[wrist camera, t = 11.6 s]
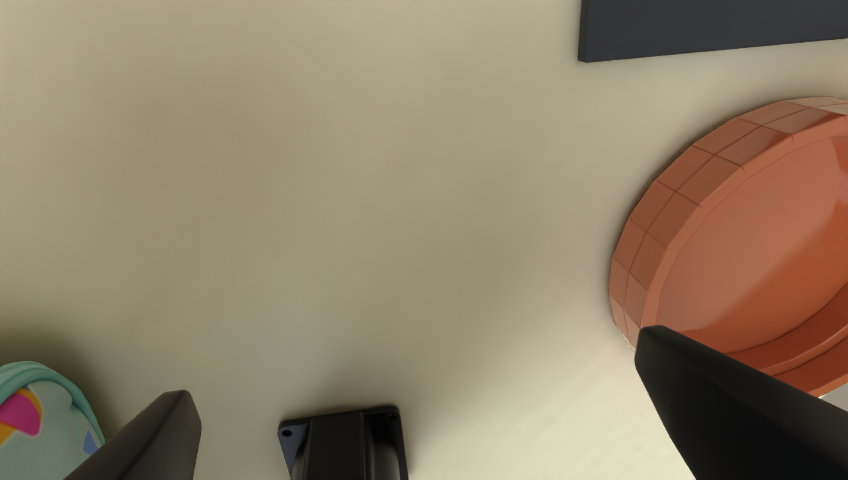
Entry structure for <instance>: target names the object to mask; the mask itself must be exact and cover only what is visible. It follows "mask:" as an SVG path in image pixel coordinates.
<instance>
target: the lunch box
mask: <svg viewBox="0 0 848 480" xmlns="http://www.w3.org/2000/svg"><path fill="white" fill-rule="evenodd" d="M105 443H106V441H105V438H104V436H103V434H102V431H101V429H100V427H99V424H98V422H97V419H96V417H95V415H94V413H93V411H92V409H91V407H90V404H89V402H88V400H87V399H86V397H85V396H84V394H83V393H82V392H81V391H80V389H79V388H78V387H77V386H76V385H75V384H74V383H73V382H71V381H70V380H69V379H67V378H66V377H64V376H62V375H60V374H59V373H58V372H56V371H54V370H52V369H50V368H48V367H47V366H45V365H43V364H41V363H38V362H35V361H21V362H13V363H9V364H5V365H3V366H1V367H0V480H63V479H64V478H65V477H66V476H68V475H69V474H70V473H71V472H72V471H73V470H75V469H76V468H77V467H78V466H79V465H80V464H81V463H83V462H84V461H85V460H86V459H87V458H88V457H90V456H91V455H92V454H93V453H94V452H95V451H97V450H98V449H99V448H100V447H101V446H102V445H103V444H105Z"/></svg>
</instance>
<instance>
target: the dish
mask: <svg viewBox="0 0 848 480" xmlns="http://www.w3.org/2000/svg"><path fill="white" fill-rule="evenodd" d="M608 291H609V292H608V293H609V298H610V303H611V309H612V314H613V319H614V323H615V325H616V326H617V328H618V330H619V331H620V333H621V335H622V336H623V338H624V339H625V341H626V343H627V344H628V346H629V347H630V348H631V350H632V351H633V352H634V354H635V351H636V345H637V339H638V334H639V331H640V329H641V328H643V327H645V326H653V325H663V326H666V327H668V328H670V329H672V330H674V331H676V332H678V333H681V334H683V335H685V336H687V337H689V338H691V339H693V340H696V341H698V342H700V343H702V344H704V345H706V346H708V347H711V348H713V349H715V350H717V351H719V352H721V353H723V354H725V355H728V356H730V357H732V358H734V359H736V360H738V361H740V362H743V363H745V364H747V365H749V366H751V367H753V368H755V369H758V370H760V371H762V372H764V373H766V374H768V375H770V376H772V377H775V378H777V379H779V380H781V381H783V382H785V383H787V384H790V385H792V386H794V387H796V388H798V389H800V390H802V391H804V392H807V393H809V394H811V395H813V396H815V397H817V398H818V397H820V396H822V395H824V394H826V393H828V392H830V391H832V390H834V389H836V388H838V387H840V386H842V385H843V384H846V383H847V382H848V100H843V99H838V98H833V97H828V96H826V97H825V96H820V97H810V98H800V99H791V100H782V101H778V102H775V103H772V104H770V105H767V106H764V107H761V108H759V109H756V110H753V111H751V112H748V113H745V114H742V115H740V116H737V117H735V118H732V119H731V120H729V121H728V122H726V123H725V124H723V125H721V126H720V127H718V128H717V129H715V130H714V131H712V132H710V133H709V134H707V135H706V136H704V137H702V138H701V139H699V140H698V141H696V142H695V143H693V144H692V146H690V147H689V148H688V149H687V150H686V151H684V152H683V153H682V154H681V155H680V156H679V157H678V158H677V159H676V160H675V161H674V162H673V163H672V164H671V165H670V166H669V167H668V168H667V169H666V170H665V171H664V172H663V173H661V174H660V175H659V176H658V177H657V178H656V180H654V181H653V183H652V184H651V185H650V187H649V188H648V190H647V191H646V193H645V194H644V196H643V197H642V198H641V200H640V201H639V203H638V204H637V206H636V207H635V209H634V210H633V211H632V213H631V214H630V216H629V218H628V220H627V222H626V225H625V227H624V229H623V232H622V234H621V237H620V239H619V242H618V244H617V247H616V249H615V252H614V254H613V258H612V266H611V274H610V282H609V290H608Z"/></svg>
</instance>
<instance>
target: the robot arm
mask: <svg viewBox="0 0 848 480" xmlns="http://www.w3.org/2000/svg"><path fill="white" fill-rule="evenodd" d="M634 361H635V367H636V370H637V372H638V374H639V376H640V378H641V380H642V382H643V384H644V386H645V388H646V390H647V392H648V394H649V396H650V398H651V400H652V402H653V404H654V406H655V408H656V411H657V413H658V415H659V417H660V419H661V421H662V423H663V425H664V427H665V429H666V431H667V432H668V434H669V436H670V438H671V440H672V441H673V443H674V445H675V446H676V448H677V450H678V451H679V453H680V454H681V456H682V458H683V459H684V461H685V462H686V464H687V466H688V467H689V469H690V470H691V472H692V474H693V475H694V477H695V478H696V480H848V412H847V411H845V410H843V409H841V408H838V407H836V406H834V405H832V404H830V403H828V402H826V401H823V400H822V399H819V398H817V397H815V396H813V395H811V394H809V393H807V392H804V391H802V390H800V389H798V388H796V387H794V386H792V385H790V384H787V383H785V382H783V381H781V380H779V379H777V378H775V377H772V376H770V375H768V374H766V373H764V372H762V371H760V370H758V369H755V368H753V367H751V366H749V365H747V364H745V363H743V362H740V361H738V360H736V359H734V358H732V357H730V356H728V355H725V354H723V353H721V352H719V351H717V350H715V349H713V348H711V347H708V346H706V345H704V344H702V343H700V342H698V341H696V340H693V339H691V338H689V337H687V336H685V335H683V334H681V333H678V332H676V331H674V330H672V329H670V328H668V327H666V326H663V325H653V326H645V327H643V328H641V329H640V331H639V334H638V339H637V345H636V351H635V358H634ZM390 414H392V415H391V416H388V415H390ZM286 430H290V431H286ZM200 436H201V420H200V417H199V415H198V412H197V409H196V407H195V404H194V402H193V399H192V397H191V395H190V393H189V392H188V391H187V390H177V391H170V392H165V393H163V394H162V395H160V396H159V397H158V398H157V399H156V400H154V401H153V402H152V403H151V404H150V405H149V406H147V407H146V408H145V409H144V410H143V411H142V412H140V413H139V414H138V415H137V416H136V417H135V418H134V419H132V420H131V421H130V422H129V423H128V424H127V425H125V426H124V427H123V428H122V429H121V430H120V431H119V432H117V433H116V434H115V435H114V436H113V437H112V438H110V439H109V440H108V441H107V442H106V443H105V444H103V445H102V446H101V447H100V448H99V449H98V450H97V451H95V452H94V453H93V454H92V455H91V456H90V457H88V458H87V459H86V460H85V461H84V462H83V463H81V464H80V465H79V466H78V467H77V468H76V469H75V470H73V471H72V472H71V473H70V474H69V475H68V476H66V477H65V478H64V479H63V480H193V475H194V469H195V464H196V458H197V453H198V447H199V442H200ZM278 437H279V441H280V444H281V447H282V451H283V454H284V457H285V460H286V464H287V467H288V470H289V474H290V477H291V480H409V479H408V471H407V463H406V456H405V448H404V441H403V433H402V425H401V418H400V411H399V408H397V407H396V406H383V407H376V408H369V409H362V410H356V411H349V412H342V413H335V414H328V415H321V416H315V417H308V418H301V419H294V420H287V421H283V422H282V423H280V425H279V428H278Z"/></svg>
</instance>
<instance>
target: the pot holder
mask: <svg viewBox="0 0 848 480" xmlns="http://www.w3.org/2000/svg"><path fill="white" fill-rule="evenodd" d="M844 38H848V0H582V6H581V20H580V34H579V48H578V60H579V61H582V62H586V63H588V62H599V61H610V60H620V59H631V58H642V57H652V56H663V55H674V54H684V53H695V52H706V51H716V50H727V49H738V48H748V47H759V46H770V45H780V44H791V43H802V42H812V41H823V40H834V39H844Z"/></svg>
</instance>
